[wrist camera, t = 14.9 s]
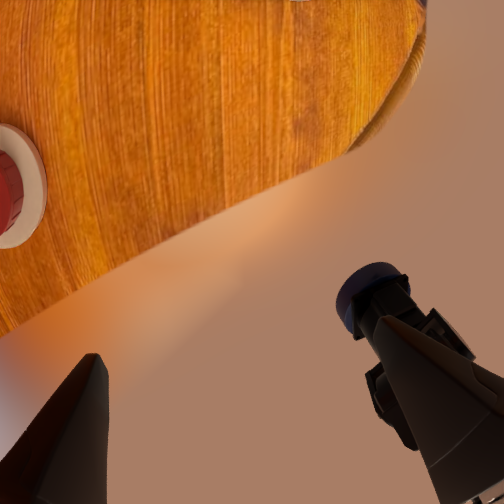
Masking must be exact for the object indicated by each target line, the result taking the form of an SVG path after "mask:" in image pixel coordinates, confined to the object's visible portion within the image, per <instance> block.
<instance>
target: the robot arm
mask: <svg viewBox="0 0 504 504" xmlns="http://www.w3.org/2000/svg"><path fill="white" fill-rule="evenodd" d="M408 281H409V277H408V276H407V275H406V274H402V275H400V276H397V277H395V278H393V279H390V280H388V281H386V282H383V283H381V284H379V285H376V286H374V287H371V288H369V289H367V290H364V291H362V292H359V293H357V294H354V295H353V296H352V297H351V315H352V333H353V338H354V340H355V341H357V340H360V339H363V338H365V337H366V338H367V340H368V342H369V343H370V345H371V346H372V348H373V350H374V351H375V353H376V355H377V356H378V358H379V359H380V362H379V363H378V364H377V365H376V366H375V367H374V368H373V369H371V370H369V371H368V372H367V373H365V377H366V380H367V385H368V388H369V391H370V394H371V398H372V401H373V405H374V408H375V411H376V413H377V414H378V417H379V418H380V419H383V420H384V421H385V422H386V423H387V424H388V425H389V426H391V427H394V429H395V430H396V432H397V433H398V435H399V437H400V438H401V440H402V442H403V444H404V445H405V446H406V447H407V448H409V449H411V450H413V451H418V450H420V452H421V455H422V457H423V460H424V462H425V465H426V467H427V469H428V473H429V475H430V478H431V480H432V483H433V486H434V488H435V491H436V494H437V496H438V499H439V502H440V504H464V503H466V502H468V501H470V500H472V502H473V504H504V378H502V377H500V376H498V375H496V374H494V373H492V372H490V371H488V370H486V369H484V368H483V367H481V366H479V365H477V364H476V363H474V362H473V361H474V360H475V359H476V356H475V355H474V353H473V352H472V351H471V349H470V348H469V347H468V345H467V344H466V343H465V341H464V340H463V339H462V337H461V336H460V335H459V334H458V333H457V331H456V330H455V329H454V328H453V327H452V326H451V325H450V324H449V322H448V321H447V320H446V319H445V318H443V316H441V314H440V313H439V312H438V311H436V310H435V309H434V308H432V310H431V311H430V313H429V314H428V315H427V316H425V315H424V313H422V311H421V310H420V309H419V308H418V307H417V304H416V303H415V302H414V301H413V299H412V298H411V297H410V296H409V295H408ZM108 430H109V375H108V371H107V368H106V367H105V365H104V363H103V361H102V359H101V357H100V355H99V354H97V353H89V354H86V355H85V356H84V357H83V358H82V359H81V360H80V362H79V363H78V364H77V365H76V366H75V368H74V369H73V370H72V371H71V372H70V374H69V375H68V376H67V378H66V379H65V380H64V381H63V382H62V384H61V385H60V386H59V387H58V389H57V390H56V391H55V392H54V394H53V395H52V396H51V397H50V399H49V400H48V401H47V402H46V404H45V405H44V406H43V408H42V409H41V410H40V412H39V413H38V414H37V416H36V417H35V418H34V419H33V421H32V422H31V423H30V425H29V426H28V427H27V431H24V433H23V434H22V435H21V437H20V438H19V439H18V441H17V442H16V443H15V445H14V446H13V447H12V449H11V450H10V451H9V452H8V453H7V454H6V456H5V457H4V458H3V459H2V460H1V462H0V504H107V448H108V447H107V446H108Z"/></svg>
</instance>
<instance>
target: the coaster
mask: <svg viewBox="0 0 504 504" xmlns="http://www.w3.org/2000/svg"><path fill="white" fill-rule="evenodd" d="M0 150H2V151H5V152H6V153H7V154H8V155H9V156H10V157H11V158H12V159H13V161H14V162H15V163H16V166H17V168H18V170H19V172H20V175H21V178H22V182H23V190H24V199H23V205H22V209H21V213H20V215H19V217H18V218H17V220H16V221H15V222H14V223H15V224H14V225H13V226H12V227H11V228H10V229H9V230H8V231H7V232H4V233H3V234H2V235H1V236H0V248H12V247H16V246H18V245H20V244H22V243H23V242H25V241H26V240H27V239H28V238H29V237H30V236H31V235H32V234H33V233H34V231H35V230H36V229H37V227H38V226H39V224H40V222H41V220H42V217H43V215H44V211H45V208H46V202H47V180H46V173H45V169H44V165H43V162H42V159H41V157H40V155H39V152H38V150H37V149H36V147H35V145H34V144H33V142H32V141H31V140H30V138H29V137H28V136H27V135H26V134H25V133H24V132H22V131H21V130H20V129H18V128H16V127H14V126H12V125H9V124H5V123H0Z"/></svg>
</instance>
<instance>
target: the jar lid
mask: <svg viewBox="0 0 504 504" xmlns="http://www.w3.org/2000/svg"><path fill="white" fill-rule="evenodd" d="M23 199H24V190H23V182H22V178H21V175H20V172H19V170H18V168H17V166H16V163H15V162H14V161H13V159H12V158H11V157H10V156H9V155H8V154H7V153H6V152H5V151H2V150H0V236H1V235H2V234H3V233H4V232H7V231H8V230H9V229H10V228H11V227H12V226H13V225H14V224H15V223H14V222H15V221H16V220H17V218H18V217H19V215H20V213H21V209H22V205H23Z"/></svg>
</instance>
